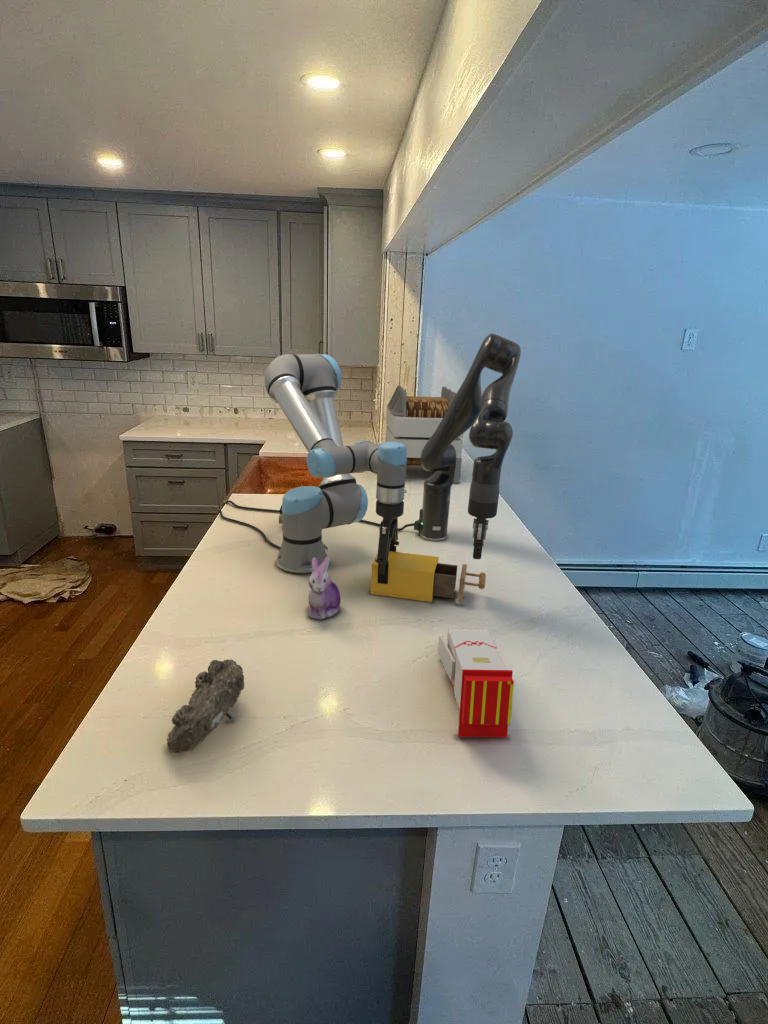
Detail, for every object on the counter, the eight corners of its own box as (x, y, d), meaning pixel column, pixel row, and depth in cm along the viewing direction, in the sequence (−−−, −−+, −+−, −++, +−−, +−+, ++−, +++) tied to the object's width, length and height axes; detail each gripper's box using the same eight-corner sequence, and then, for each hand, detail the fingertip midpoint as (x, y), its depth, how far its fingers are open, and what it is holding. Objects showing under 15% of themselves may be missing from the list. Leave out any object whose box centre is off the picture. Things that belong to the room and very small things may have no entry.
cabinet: (436, 585, 164) (438, 556, 161) (431, 602, 154) (434, 572, 151) (378, 577, 167) (379, 549, 164) (370, 593, 157) (371, 564, 154)
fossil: (192, 660, 117) (244, 628, 112) (224, 691, 120) (276, 661, 115) (142, 746, 98) (202, 712, 93) (182, 779, 101) (242, 748, 96)
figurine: (313, 624, 141) (313, 569, 135) (299, 605, 149) (299, 553, 144) (348, 616, 145) (349, 563, 140) (333, 598, 153) (333, 547, 148)
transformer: (382, 463, 289) (386, 382, 275) (445, 464, 293) (451, 384, 279) (390, 482, 257) (394, 392, 243) (460, 483, 261) (468, 394, 247)
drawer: (484, 589, 160) (486, 566, 158) (482, 605, 152) (485, 581, 149) (409, 579, 164) (411, 557, 162) (404, 594, 156) (405, 571, 153)
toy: (488, 613, 130) (523, 677, 101) (484, 667, 133) (517, 744, 104) (435, 612, 130) (455, 676, 101) (432, 666, 133) (451, 743, 103)
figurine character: (297, 533, 199) (302, 514, 212) (296, 514, 196) (301, 496, 209) (278, 533, 199) (284, 514, 212) (277, 514, 195) (283, 495, 209)
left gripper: (395, 515, 141) (391, 594, 149) (410, 489, 162) (406, 559, 170) (366, 512, 143) (364, 591, 150) (385, 486, 164) (382, 556, 171)
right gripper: (497, 506, 140) (490, 570, 146) (499, 491, 152) (491, 550, 158) (467, 503, 141) (460, 566, 147) (470, 488, 154) (464, 546, 160)
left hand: (386, 574), depth 160 cm, fingers closed on cabinet, 10 cm apart
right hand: (476, 557), depth 153 cm, fingers closed
